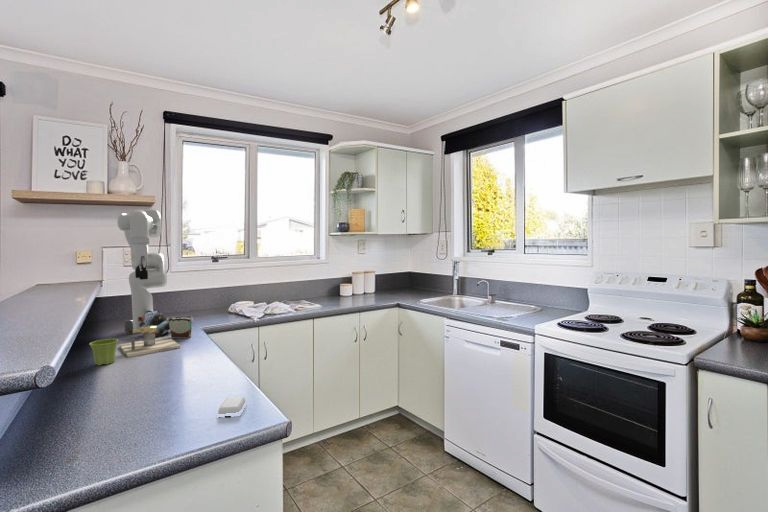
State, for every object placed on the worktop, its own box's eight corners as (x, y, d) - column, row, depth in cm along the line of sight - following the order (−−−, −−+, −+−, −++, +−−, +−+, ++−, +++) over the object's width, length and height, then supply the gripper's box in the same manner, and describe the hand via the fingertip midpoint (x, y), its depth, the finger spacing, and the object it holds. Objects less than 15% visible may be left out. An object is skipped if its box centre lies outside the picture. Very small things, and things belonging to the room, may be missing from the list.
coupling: (125, 336, 172) (125, 322, 171) (124, 332, 179) (123, 319, 179) (158, 332, 179) (158, 318, 179) (155, 328, 186) (155, 315, 186)
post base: (119, 347, 182) (119, 331, 182) (168, 339, 195) (168, 324, 195) (127, 357, 167) (126, 340, 167) (180, 347, 180) (179, 332, 180)
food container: (199, 335, 203) (198, 315, 203) (192, 338, 197) (191, 317, 196) (175, 334, 204) (175, 315, 204) (168, 337, 198) (167, 317, 198)
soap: (224, 405, 119) (224, 396, 119) (248, 404, 120) (247, 394, 120) (215, 419, 110) (214, 409, 110) (240, 418, 111) (240, 407, 111)
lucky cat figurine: (158, 338, 198) (142, 314, 195) (144, 345, 203) (128, 322, 200) (181, 322, 211) (166, 300, 209) (167, 330, 216) (152, 308, 214)
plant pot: (85, 365, 158) (84, 343, 157) (111, 358, 166) (110, 337, 166) (98, 368, 153) (97, 346, 153) (124, 361, 162) (123, 340, 161)
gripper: (127, 241, 191) (128, 277, 192) (134, 241, 178) (135, 280, 179) (145, 241, 196) (146, 276, 197) (153, 241, 183) (155, 279, 184)
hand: (141, 278), depth 188 cm, fingers open, 9 cm apart
